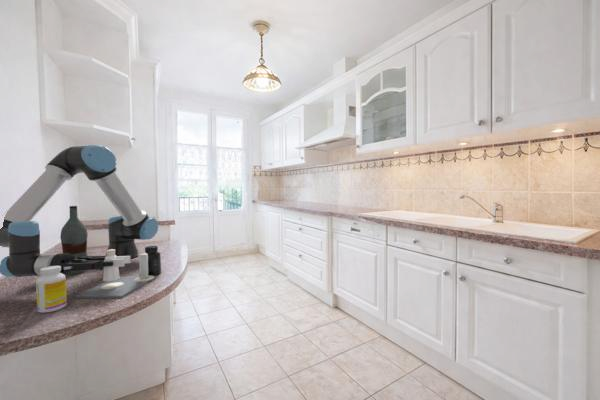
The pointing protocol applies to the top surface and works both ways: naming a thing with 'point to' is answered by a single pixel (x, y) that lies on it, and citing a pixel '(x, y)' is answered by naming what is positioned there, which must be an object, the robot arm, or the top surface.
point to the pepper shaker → (111, 268)
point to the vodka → (74, 237)
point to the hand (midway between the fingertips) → (126, 261)
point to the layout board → (121, 283)
